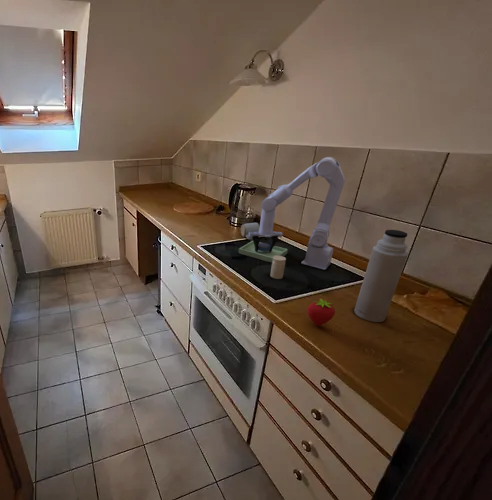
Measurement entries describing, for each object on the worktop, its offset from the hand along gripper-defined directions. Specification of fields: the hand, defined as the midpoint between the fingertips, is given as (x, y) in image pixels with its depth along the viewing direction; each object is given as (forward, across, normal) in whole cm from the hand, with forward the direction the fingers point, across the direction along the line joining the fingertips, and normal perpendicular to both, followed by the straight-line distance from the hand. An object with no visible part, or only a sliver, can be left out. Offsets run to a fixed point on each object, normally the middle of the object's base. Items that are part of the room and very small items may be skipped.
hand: (262, 251), depth 140 cm
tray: (+1, 0, 0) cm, 1 cm away
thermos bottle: (+1, +19, -48) cm, 52 cm away
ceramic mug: (+1, 0, +21) cm, 21 cm away
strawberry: (+1, 0, -55) cm, 55 cm away
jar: (+1, -1, -23) cm, 23 cm away
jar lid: (-2, 0, 0) cm, 2 cm away
